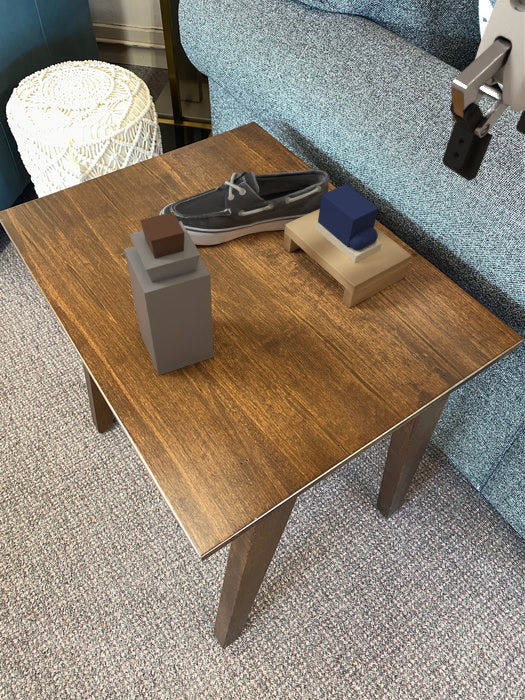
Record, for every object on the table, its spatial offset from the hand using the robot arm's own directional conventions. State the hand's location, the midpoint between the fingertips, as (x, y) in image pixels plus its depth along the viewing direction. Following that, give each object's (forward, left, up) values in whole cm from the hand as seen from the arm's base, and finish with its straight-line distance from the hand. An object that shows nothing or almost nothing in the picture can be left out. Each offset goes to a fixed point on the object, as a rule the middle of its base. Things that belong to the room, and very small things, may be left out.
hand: (496, 153), depth 49 cm
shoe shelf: (+11, -12, -26) cm, 31 cm away
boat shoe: (+26, -16, -26) cm, 40 cm away
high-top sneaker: (+11, -12, -22) cm, 28 cm away
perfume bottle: (+28, +8, -26) cm, 39 cm away
